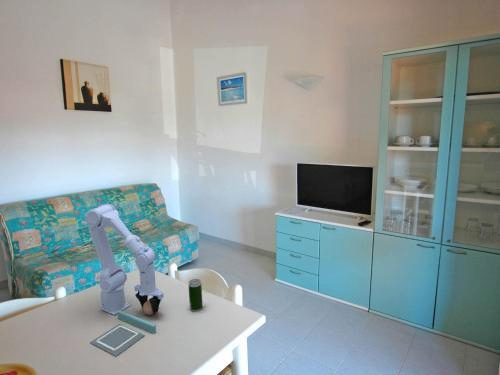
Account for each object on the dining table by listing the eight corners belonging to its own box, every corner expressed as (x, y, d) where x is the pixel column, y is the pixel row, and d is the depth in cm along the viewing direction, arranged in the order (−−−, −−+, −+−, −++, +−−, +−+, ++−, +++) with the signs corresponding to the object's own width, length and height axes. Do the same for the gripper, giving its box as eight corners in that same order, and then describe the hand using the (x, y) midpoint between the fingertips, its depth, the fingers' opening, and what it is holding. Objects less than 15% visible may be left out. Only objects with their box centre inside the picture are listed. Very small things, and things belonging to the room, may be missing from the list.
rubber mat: (90, 343, 108) (89, 340, 108) (119, 324, 118) (119, 322, 118) (116, 356, 101) (115, 354, 101) (144, 336, 111) (144, 333, 111)
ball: (140, 315, 124) (139, 302, 123) (150, 308, 129) (149, 296, 128) (150, 319, 121) (149, 306, 120) (160, 311, 126) (159, 299, 125)
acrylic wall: (117, 318, 122) (117, 311, 122) (120, 317, 123) (119, 310, 123) (153, 333, 112) (153, 326, 112) (156, 332, 113) (155, 324, 113)
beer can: (192, 313, 125) (191, 286, 123) (187, 307, 129) (186, 280, 127) (204, 309, 128) (203, 282, 126) (199, 303, 132) (198, 277, 130)
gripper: (127, 279, 123) (130, 310, 125) (153, 288, 116) (155, 320, 118) (141, 272, 129) (143, 302, 131) (166, 280, 122) (168, 311, 124)
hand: (150, 310), depth 125 cm, fingers closed on ball, 5 cm apart
